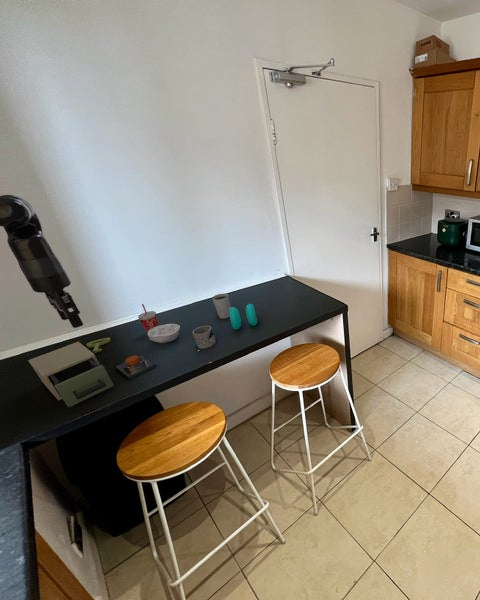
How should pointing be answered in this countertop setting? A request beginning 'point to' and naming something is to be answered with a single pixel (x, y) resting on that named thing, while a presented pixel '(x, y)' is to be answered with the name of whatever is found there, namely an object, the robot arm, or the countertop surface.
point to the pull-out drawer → (81, 381)
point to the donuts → (236, 318)
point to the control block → (135, 367)
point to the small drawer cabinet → (60, 363)
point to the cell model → (164, 333)
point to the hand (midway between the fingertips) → (72, 322)
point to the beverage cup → (148, 319)
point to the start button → (132, 360)
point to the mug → (204, 336)
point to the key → (98, 344)
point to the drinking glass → (222, 305)
